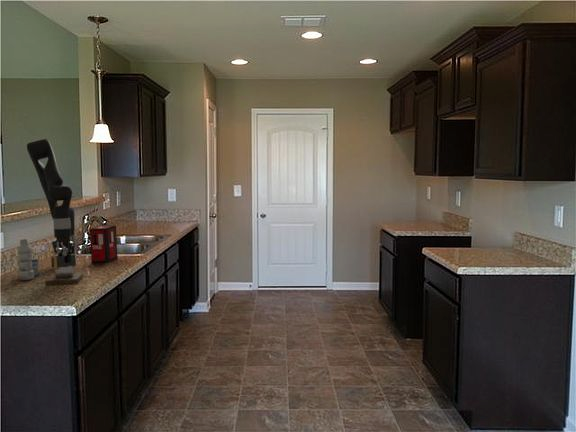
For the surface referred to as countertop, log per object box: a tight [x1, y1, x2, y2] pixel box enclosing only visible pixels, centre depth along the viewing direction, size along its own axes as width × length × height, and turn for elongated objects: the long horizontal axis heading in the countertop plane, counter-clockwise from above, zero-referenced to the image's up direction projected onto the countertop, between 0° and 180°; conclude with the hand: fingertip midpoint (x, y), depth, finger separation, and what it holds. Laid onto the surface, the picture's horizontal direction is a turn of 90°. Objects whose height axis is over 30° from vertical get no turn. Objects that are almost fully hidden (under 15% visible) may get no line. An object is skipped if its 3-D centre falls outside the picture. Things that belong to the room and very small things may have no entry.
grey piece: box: [50, 254, 77, 278], centre depth 239 cm, size 10×8×10 cm
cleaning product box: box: [89, 225, 118, 265], centre depth 290 cm, size 16×9×20 cm, turn 179°
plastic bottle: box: [17, 238, 34, 281], centre depth 242 cm, size 6×7×20 cm
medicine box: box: [17, 258, 40, 278], centre depth 250 cm, size 8×4×9 cm, turn 149°
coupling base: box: [45, 272, 84, 286], centre depth 240 cm, size 14×14×2 cm
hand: (64, 262), depth 239 cm, fingers closed on grey piece, 4 cm apart
